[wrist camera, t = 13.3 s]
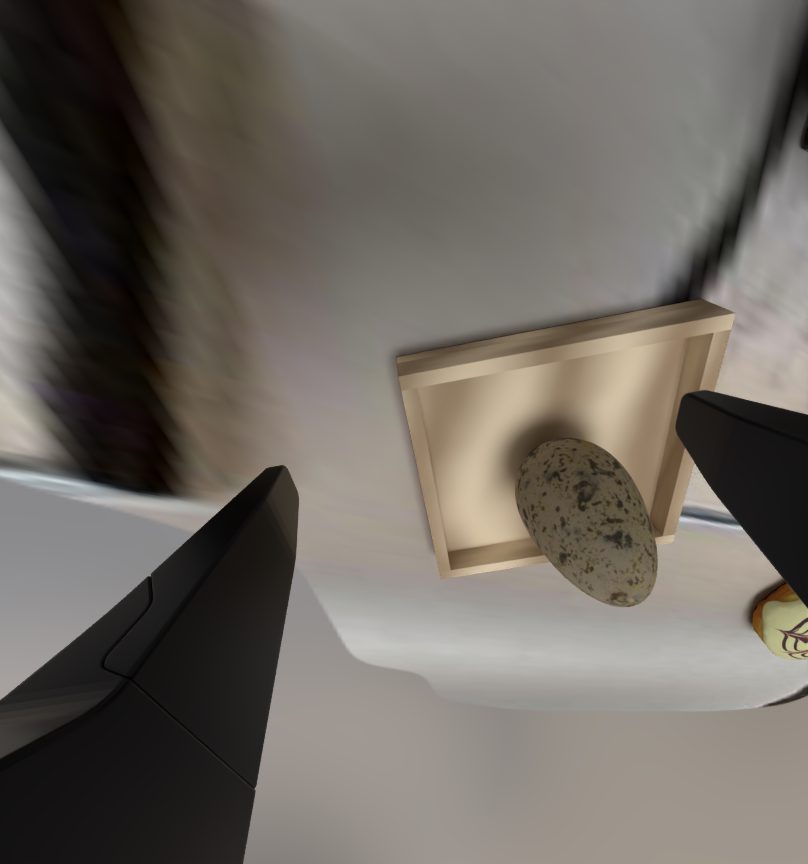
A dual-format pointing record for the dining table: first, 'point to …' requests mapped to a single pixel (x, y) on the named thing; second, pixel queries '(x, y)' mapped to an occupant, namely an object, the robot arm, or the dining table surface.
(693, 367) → the wooden tray
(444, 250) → the dining table surface
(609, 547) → the decorative egg
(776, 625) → the decorated donut
